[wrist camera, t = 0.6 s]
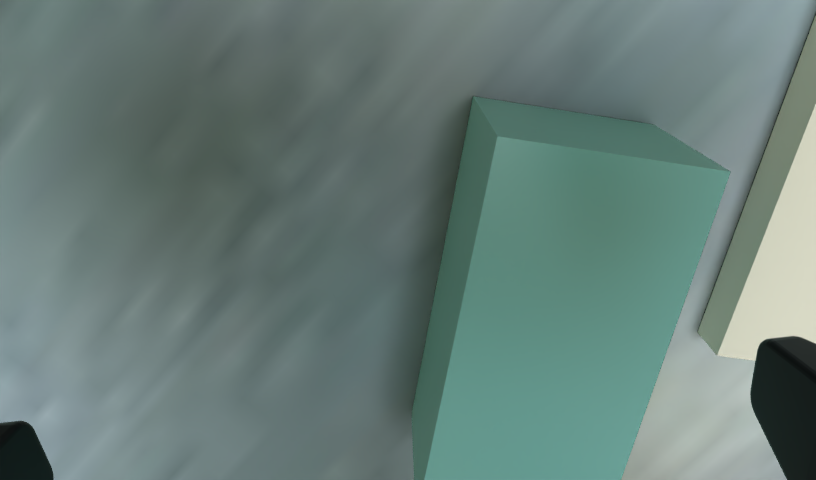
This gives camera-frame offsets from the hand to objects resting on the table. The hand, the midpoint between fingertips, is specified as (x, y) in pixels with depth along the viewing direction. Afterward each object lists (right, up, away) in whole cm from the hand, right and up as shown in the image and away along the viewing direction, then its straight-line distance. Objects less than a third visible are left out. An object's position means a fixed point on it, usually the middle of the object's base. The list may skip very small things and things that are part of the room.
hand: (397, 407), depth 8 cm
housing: (+4, +1, +14) cm, 14 cm away
